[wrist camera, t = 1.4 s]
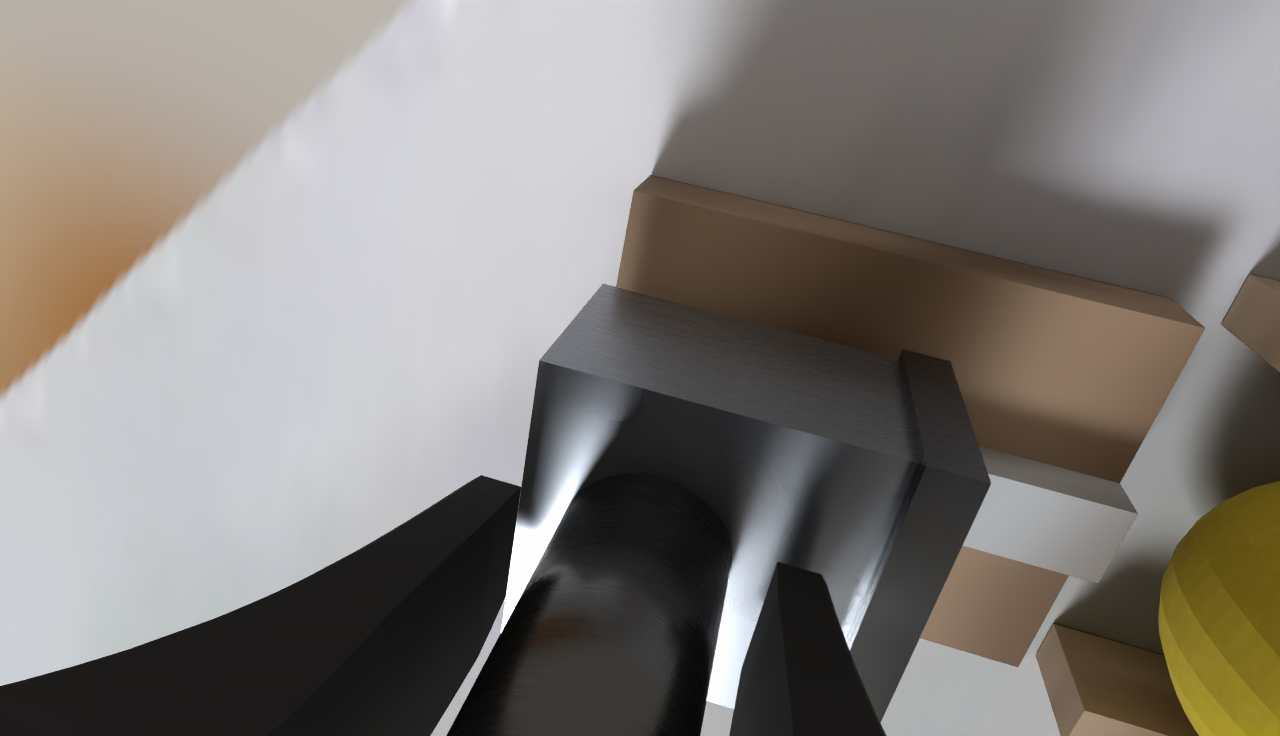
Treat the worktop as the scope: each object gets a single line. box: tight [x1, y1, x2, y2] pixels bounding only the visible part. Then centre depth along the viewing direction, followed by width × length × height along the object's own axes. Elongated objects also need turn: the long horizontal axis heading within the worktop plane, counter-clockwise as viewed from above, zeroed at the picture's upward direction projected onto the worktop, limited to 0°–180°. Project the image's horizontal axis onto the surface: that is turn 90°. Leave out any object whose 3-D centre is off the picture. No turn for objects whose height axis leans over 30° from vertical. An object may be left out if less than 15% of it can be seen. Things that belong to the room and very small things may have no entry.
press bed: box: [616, 175, 1205, 667], centre depth 16 cm, size 10×8×2 cm
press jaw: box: [447, 284, 991, 736], centre depth 11 cm, size 6×6×8 cm
